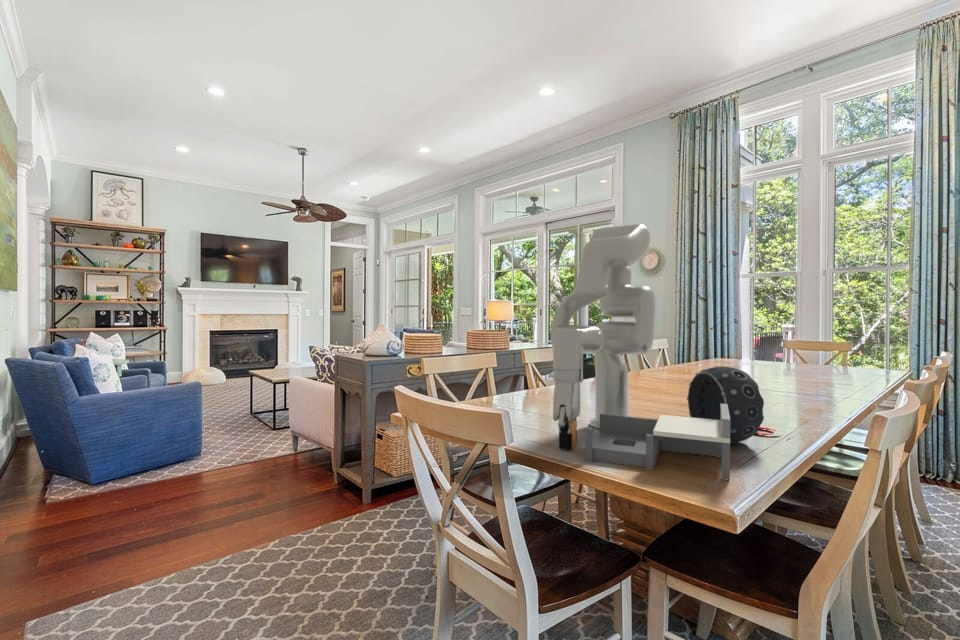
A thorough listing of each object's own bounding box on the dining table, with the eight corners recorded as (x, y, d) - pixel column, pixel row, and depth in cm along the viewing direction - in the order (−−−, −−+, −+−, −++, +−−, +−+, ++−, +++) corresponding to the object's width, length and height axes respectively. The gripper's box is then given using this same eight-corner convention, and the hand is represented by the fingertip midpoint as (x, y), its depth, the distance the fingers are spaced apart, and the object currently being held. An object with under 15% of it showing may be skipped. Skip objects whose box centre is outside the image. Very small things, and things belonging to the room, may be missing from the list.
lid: (660, 418, 119) (660, 398, 119) (727, 424, 113) (727, 404, 112) (653, 435, 104) (653, 412, 104) (730, 443, 97) (730, 419, 97)
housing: (600, 441, 126) (600, 413, 126) (726, 457, 113) (727, 425, 113) (585, 460, 111) (585, 428, 110) (729, 480, 98) (730, 444, 97)
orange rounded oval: (562, 444, 124) (562, 418, 124) (577, 446, 122) (577, 419, 122) (558, 448, 120) (558, 421, 120) (573, 450, 118) (573, 423, 118)
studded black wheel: (728, 453, 116) (728, 372, 115) (683, 432, 135) (684, 362, 135) (768, 451, 117) (769, 371, 116) (718, 430, 137) (719, 362, 136)
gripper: (562, 370, 130) (562, 436, 130) (543, 379, 115) (543, 453, 115) (590, 372, 126) (590, 439, 127) (574, 381, 111) (574, 457, 112)
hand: (568, 445), depth 121 cm, fingers closed on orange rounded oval, 4 cm apart
